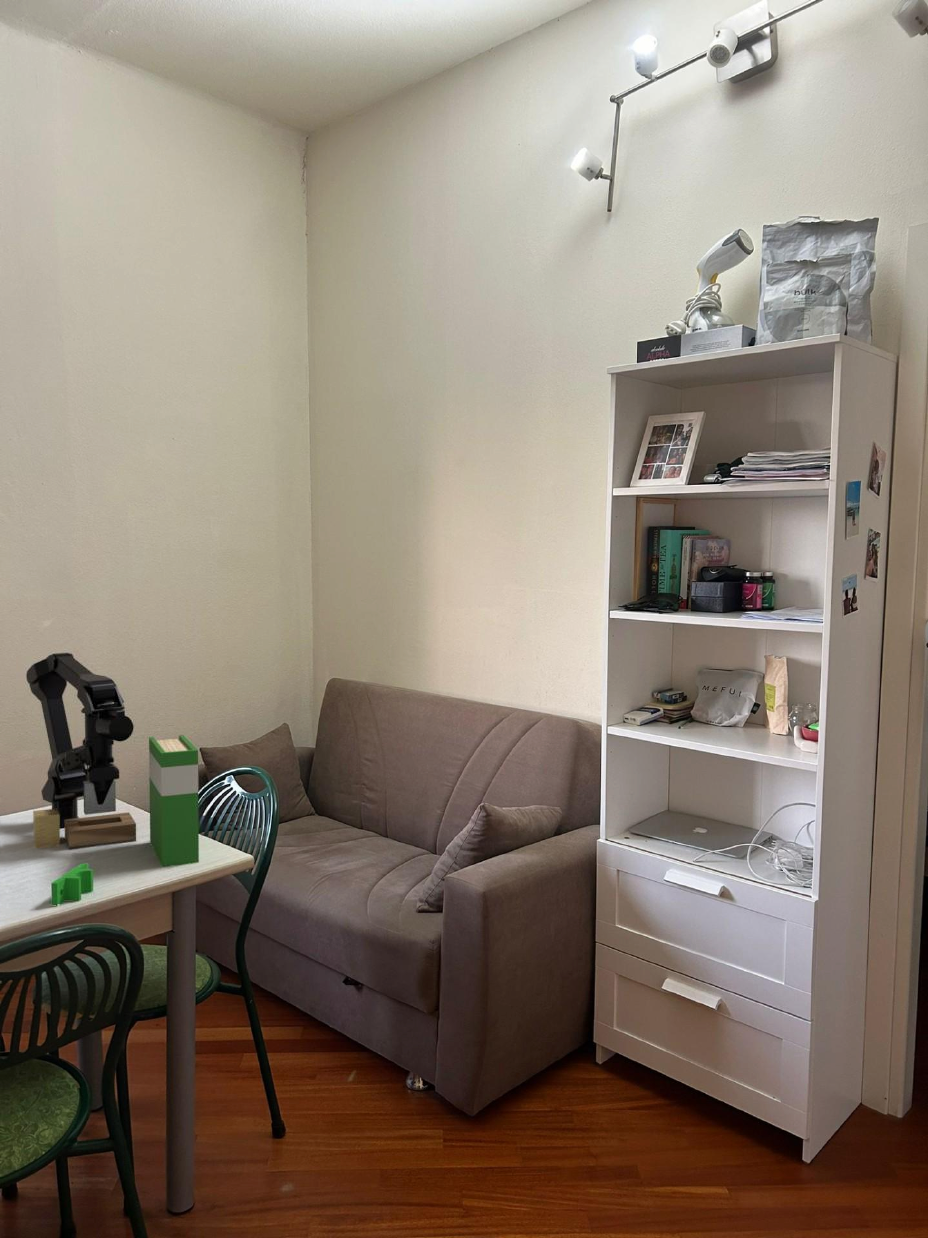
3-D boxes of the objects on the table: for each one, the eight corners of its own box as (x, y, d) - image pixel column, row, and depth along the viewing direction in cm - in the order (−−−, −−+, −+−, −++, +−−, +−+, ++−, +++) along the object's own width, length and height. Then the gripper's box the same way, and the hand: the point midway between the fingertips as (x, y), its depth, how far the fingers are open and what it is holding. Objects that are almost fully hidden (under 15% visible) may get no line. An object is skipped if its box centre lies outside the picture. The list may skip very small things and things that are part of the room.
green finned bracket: (70, 908, 172) (70, 884, 172) (51, 907, 172) (51, 883, 172) (101, 886, 183) (100, 863, 183) (82, 885, 183) (82, 862, 183)
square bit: (33, 841, 209) (33, 811, 209) (57, 838, 212) (57, 808, 211) (35, 848, 205) (34, 817, 204) (59, 845, 207) (59, 814, 207)
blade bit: (83, 811, 211) (83, 781, 210) (114, 808, 214) (113, 778, 213) (85, 814, 209) (84, 784, 208) (115, 811, 212) (115, 781, 211)
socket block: (64, 837, 213) (64, 819, 213) (129, 829, 219) (129, 812, 219) (69, 849, 204) (68, 831, 204) (136, 841, 211) (136, 823, 210)
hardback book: (150, 842, 210) (149, 737, 208) (184, 838, 213) (183, 735, 211) (162, 867, 194) (161, 753, 192) (198, 862, 197) (198, 750, 195)
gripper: (56, 730, 214) (57, 796, 216) (63, 746, 198) (65, 818, 199) (107, 726, 220) (108, 791, 221) (119, 741, 203) (120, 811, 204)
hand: (99, 802), depth 211 cm, fingers closed on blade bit, 2 cm apart
